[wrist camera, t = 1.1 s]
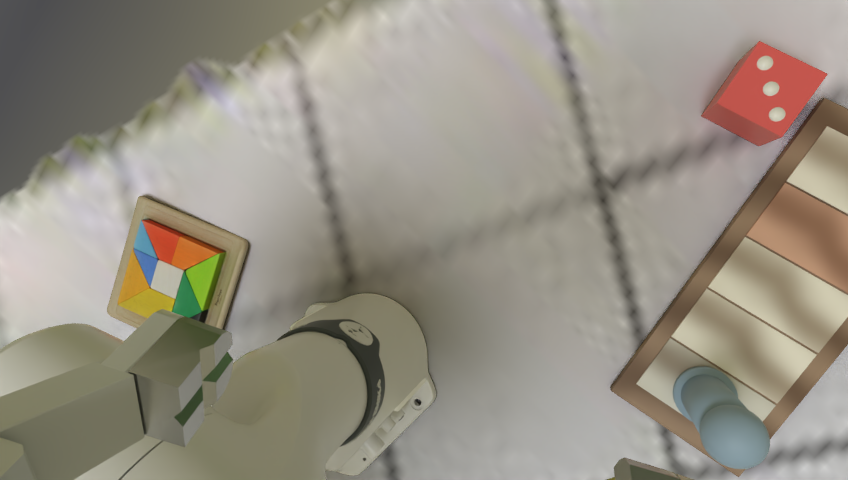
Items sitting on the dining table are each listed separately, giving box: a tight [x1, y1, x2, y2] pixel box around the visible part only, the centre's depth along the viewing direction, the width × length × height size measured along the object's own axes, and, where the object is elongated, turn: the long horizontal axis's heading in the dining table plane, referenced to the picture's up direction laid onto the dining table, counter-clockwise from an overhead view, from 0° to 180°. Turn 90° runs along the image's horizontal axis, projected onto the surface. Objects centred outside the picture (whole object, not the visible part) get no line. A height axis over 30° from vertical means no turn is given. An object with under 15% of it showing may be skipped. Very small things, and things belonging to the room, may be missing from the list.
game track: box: [610, 98, 848, 477], centre depth 50 cm, size 34×14×1 cm, turn 149°
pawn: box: [673, 366, 770, 469], centre depth 45 cm, size 6×6×13 cm
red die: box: [701, 41, 827, 146], centre depth 47 cm, size 6×6×6 cm
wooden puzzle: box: [107, 196, 248, 329], centre depth 69 cm, size 18×19×4 cm
